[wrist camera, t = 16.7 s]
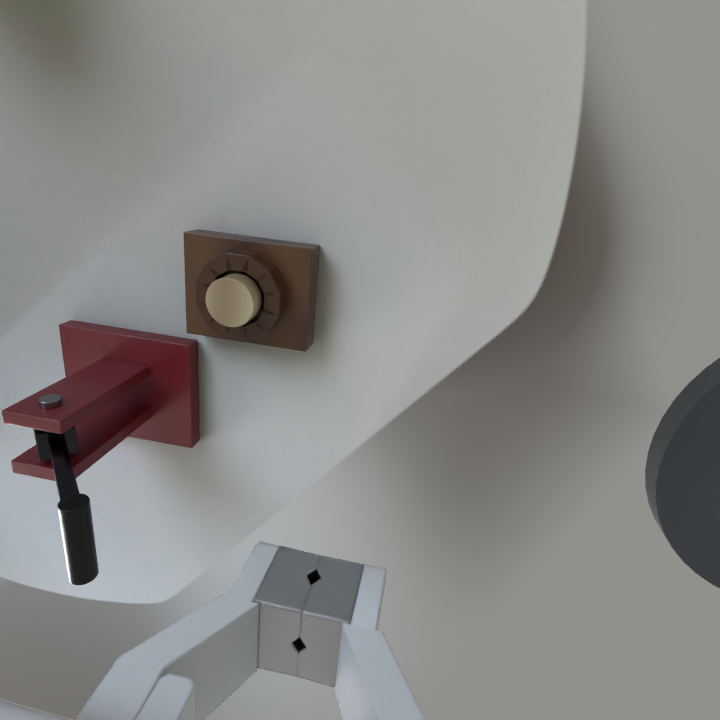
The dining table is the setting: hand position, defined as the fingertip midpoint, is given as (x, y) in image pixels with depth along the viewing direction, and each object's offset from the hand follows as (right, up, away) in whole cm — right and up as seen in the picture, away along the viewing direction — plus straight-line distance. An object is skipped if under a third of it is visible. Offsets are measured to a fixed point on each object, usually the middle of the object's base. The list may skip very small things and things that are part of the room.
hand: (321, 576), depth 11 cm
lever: (-17, -2, +20) cm, 27 cm away
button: (-8, +10, +25) cm, 28 cm away
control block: (-7, +11, +28) cm, 31 cm away
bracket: (-20, +3, +33) cm, 38 cm away
